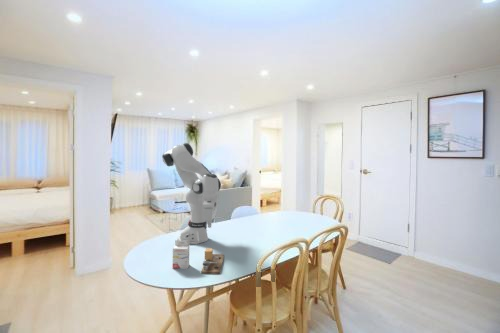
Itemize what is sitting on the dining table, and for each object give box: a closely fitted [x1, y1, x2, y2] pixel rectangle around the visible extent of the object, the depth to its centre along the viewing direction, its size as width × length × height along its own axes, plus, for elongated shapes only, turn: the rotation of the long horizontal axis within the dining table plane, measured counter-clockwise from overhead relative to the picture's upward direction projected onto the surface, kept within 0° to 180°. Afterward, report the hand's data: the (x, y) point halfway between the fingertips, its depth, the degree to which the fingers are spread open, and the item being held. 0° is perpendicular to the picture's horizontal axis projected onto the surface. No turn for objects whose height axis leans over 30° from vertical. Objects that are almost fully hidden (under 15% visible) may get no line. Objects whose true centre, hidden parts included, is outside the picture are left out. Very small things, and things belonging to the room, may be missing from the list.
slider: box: [204, 248, 219, 261], centre depth 145 cm, size 8×4×7 cm, turn 90°
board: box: [200, 253, 225, 275], centre depth 144 cm, size 10×22×4 cm, turn 0°
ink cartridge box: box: [172, 239, 190, 270], centre depth 140 cm, size 9×5×15 cm, turn 92°
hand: (211, 224), depth 145 cm, fingers open, 8 cm apart
